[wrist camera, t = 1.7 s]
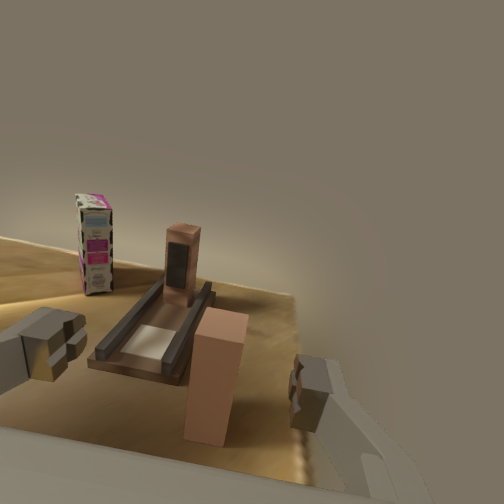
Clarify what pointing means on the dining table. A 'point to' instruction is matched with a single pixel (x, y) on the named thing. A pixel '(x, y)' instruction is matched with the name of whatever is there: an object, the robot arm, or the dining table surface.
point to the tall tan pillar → (214, 375)
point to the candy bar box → (95, 243)
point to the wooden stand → (160, 318)
